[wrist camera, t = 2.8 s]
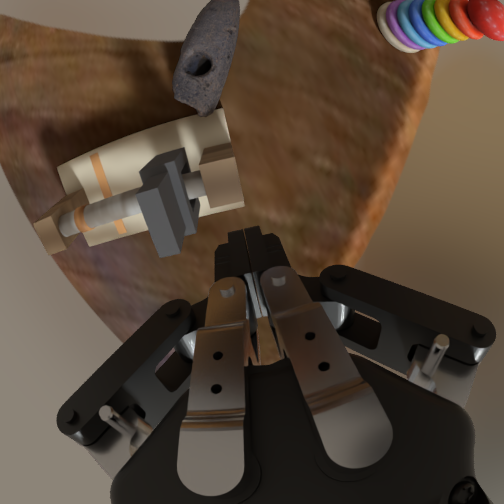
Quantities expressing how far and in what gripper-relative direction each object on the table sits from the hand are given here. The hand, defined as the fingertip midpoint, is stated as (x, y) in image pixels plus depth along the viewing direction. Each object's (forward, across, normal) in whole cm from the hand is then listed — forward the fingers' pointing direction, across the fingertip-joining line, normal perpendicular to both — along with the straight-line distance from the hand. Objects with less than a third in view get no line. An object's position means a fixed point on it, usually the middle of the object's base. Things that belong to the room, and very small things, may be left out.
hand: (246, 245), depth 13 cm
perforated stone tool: (+21, 0, -13) cm, 25 cm away
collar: (+16, +6, 0) cm, 17 cm away
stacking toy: (+20, -26, -16) cm, 36 cm away
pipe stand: (+20, +11, 0) cm, 23 cm away
